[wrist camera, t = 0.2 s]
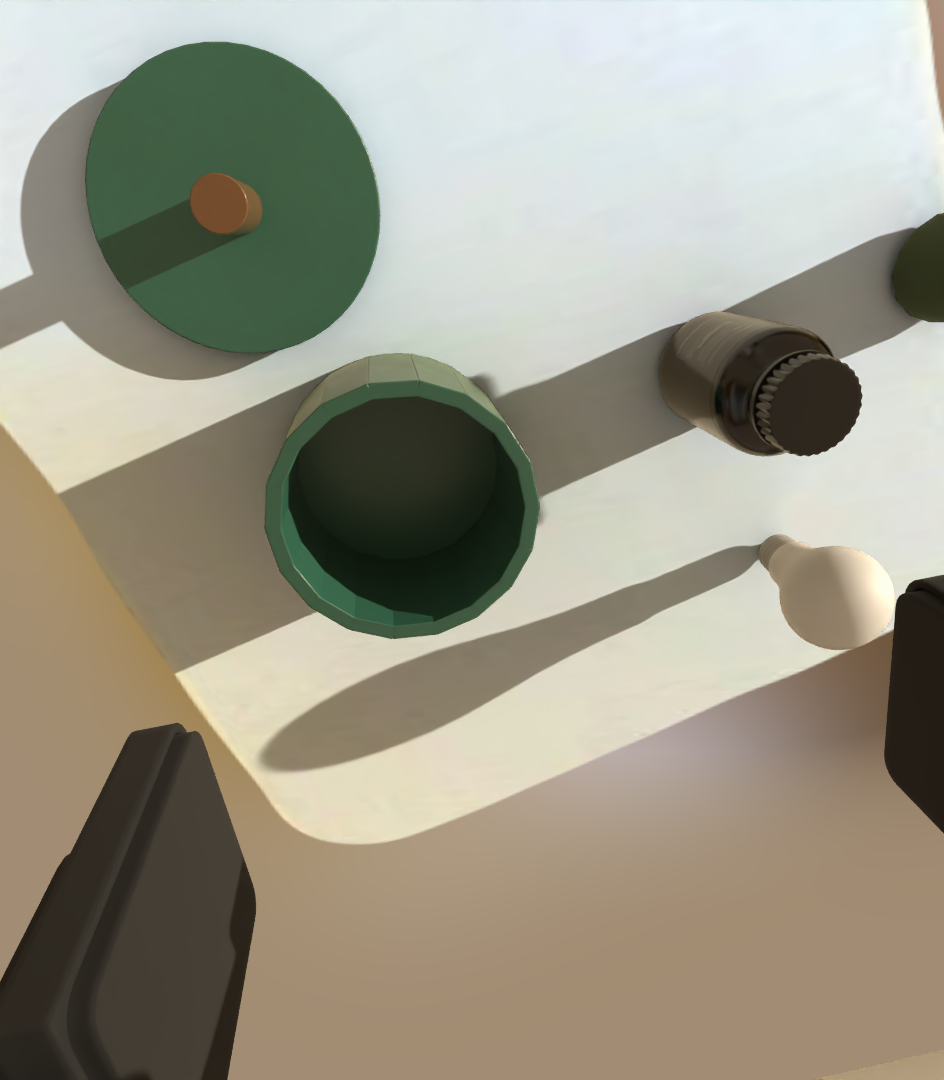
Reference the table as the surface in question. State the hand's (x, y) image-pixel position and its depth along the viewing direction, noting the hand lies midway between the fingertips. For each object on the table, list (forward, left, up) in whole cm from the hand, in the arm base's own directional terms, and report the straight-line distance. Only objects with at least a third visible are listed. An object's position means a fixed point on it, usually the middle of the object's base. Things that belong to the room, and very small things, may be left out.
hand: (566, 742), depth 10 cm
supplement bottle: (+13, +13, -37) cm, 41 cm away
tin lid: (-12, -1, -36) cm, 38 cm away
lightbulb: (+26, +9, -37) cm, 46 cm away
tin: (+4, -5, -37) cm, 38 cm away
